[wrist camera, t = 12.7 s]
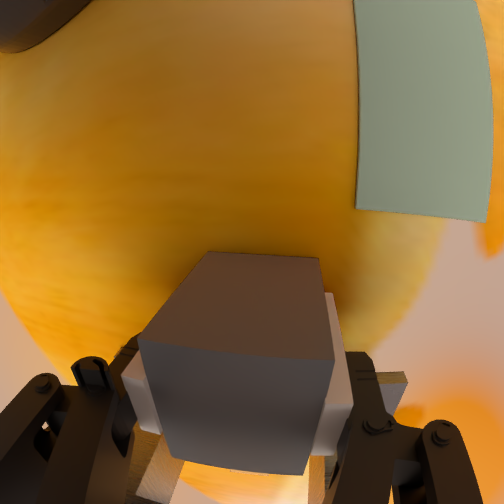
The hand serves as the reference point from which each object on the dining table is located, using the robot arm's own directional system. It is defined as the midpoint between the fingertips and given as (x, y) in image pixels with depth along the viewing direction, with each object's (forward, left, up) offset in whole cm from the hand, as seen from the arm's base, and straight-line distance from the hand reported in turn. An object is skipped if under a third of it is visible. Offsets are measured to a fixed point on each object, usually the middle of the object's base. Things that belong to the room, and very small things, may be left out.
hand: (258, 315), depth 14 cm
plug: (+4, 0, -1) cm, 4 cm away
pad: (-11, +7, -1) cm, 13 cm away
